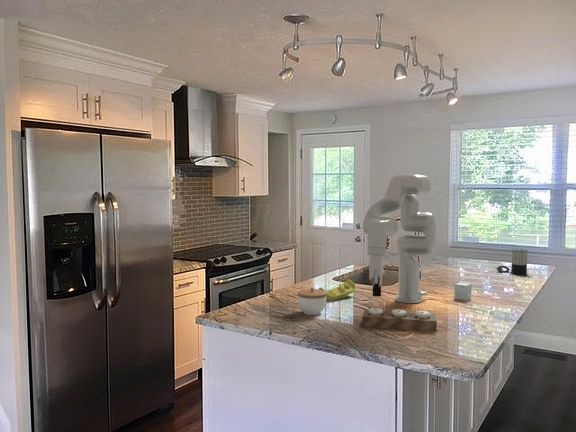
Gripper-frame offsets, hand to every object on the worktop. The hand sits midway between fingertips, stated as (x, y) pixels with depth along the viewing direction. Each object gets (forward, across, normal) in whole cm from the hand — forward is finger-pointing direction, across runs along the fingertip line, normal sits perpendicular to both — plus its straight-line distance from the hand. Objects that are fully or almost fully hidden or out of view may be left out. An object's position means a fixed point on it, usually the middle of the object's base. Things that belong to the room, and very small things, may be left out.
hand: (376, 295), depth 195 cm
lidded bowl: (+11, -9, -28) cm, 32 cm away
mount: (+11, +1, +9) cm, 14 cm away
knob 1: (+11, +1, 0) cm, 11 cm away
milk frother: (+16, -129, +76) cm, 150 cm away
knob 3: (+11, +1, +18) cm, 21 cm away
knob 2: (+11, +1, +9) cm, 14 cm away
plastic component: (+13, -41, -21) cm, 48 cm away
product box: (+13, -52, +38) cm, 66 cm away
